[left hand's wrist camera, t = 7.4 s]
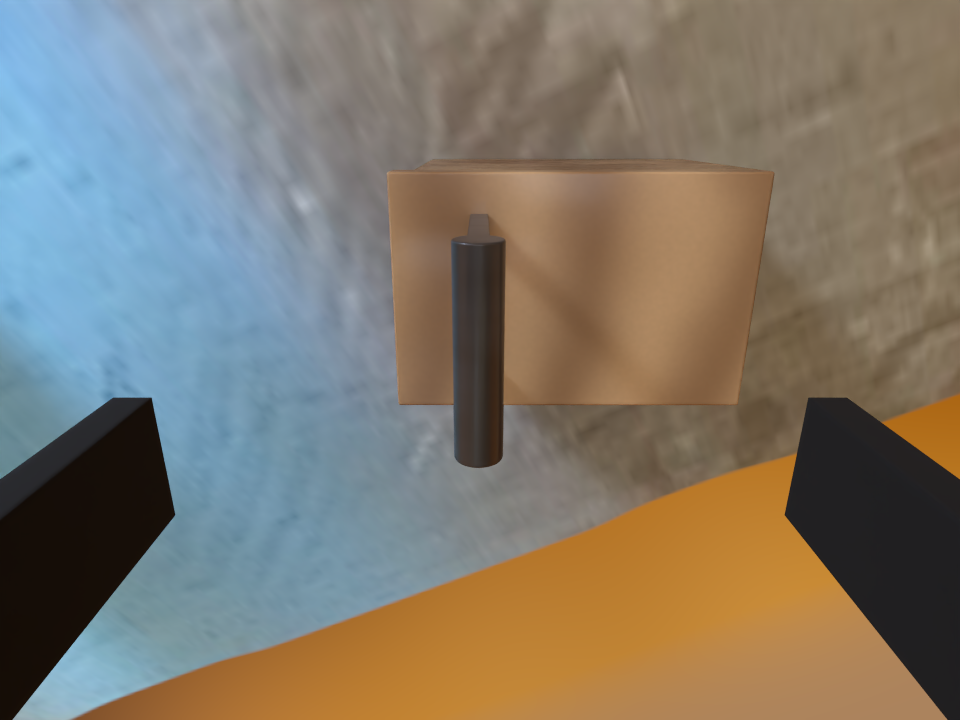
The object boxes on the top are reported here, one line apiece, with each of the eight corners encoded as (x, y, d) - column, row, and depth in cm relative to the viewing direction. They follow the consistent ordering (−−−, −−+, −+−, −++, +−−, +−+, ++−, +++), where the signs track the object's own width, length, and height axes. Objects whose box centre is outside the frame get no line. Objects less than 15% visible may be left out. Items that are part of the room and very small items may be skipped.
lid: (401, 393, 27) (367, 507, 19) (391, 169, 24) (343, 189, 16) (727, 393, 27) (834, 507, 19) (761, 169, 24) (908, 189, 16)
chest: (435, 327, 37) (420, 393, 27) (431, 159, 33) (412, 169, 24) (664, 327, 37) (726, 393, 27) (683, 159, 33) (760, 169, 24)
